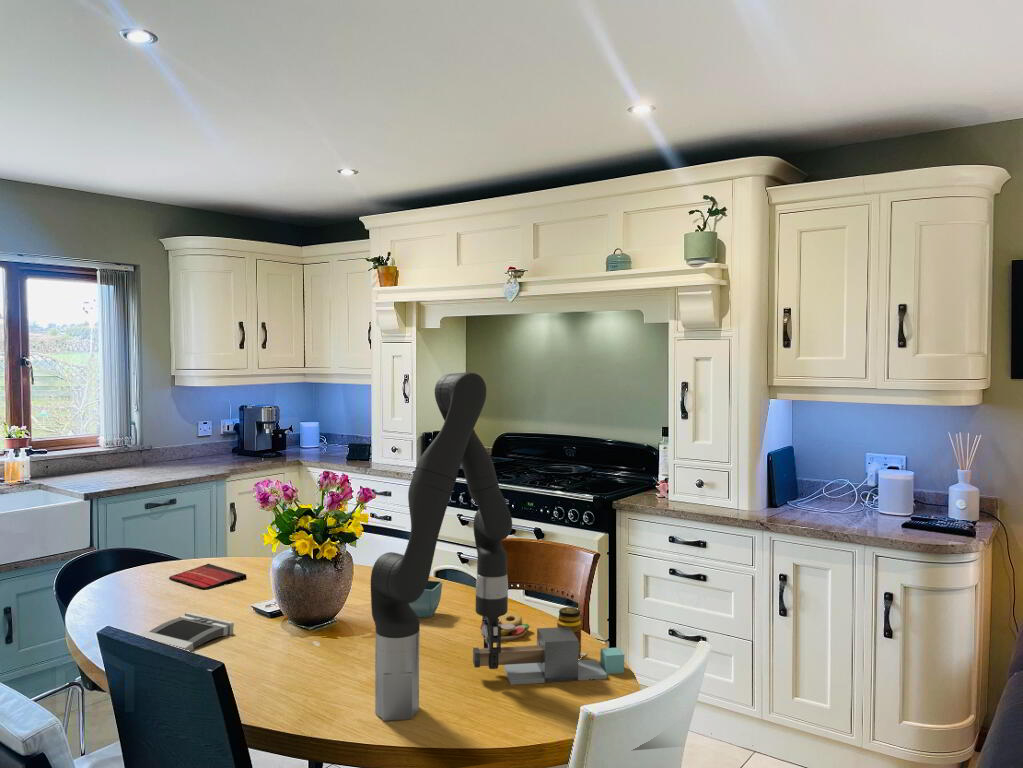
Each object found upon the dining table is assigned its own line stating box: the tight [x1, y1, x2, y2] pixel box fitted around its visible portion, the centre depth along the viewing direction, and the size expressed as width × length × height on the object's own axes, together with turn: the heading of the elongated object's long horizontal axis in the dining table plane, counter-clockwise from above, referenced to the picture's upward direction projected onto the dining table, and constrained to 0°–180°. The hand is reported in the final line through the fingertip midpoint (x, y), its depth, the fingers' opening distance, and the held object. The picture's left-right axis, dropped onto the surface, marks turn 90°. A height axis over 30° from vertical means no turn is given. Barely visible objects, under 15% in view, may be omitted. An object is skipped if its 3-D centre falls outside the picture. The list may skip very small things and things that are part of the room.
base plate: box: [503, 659, 608, 686], centre depth 182 cm, size 9×23×1 cm, turn 100°
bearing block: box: [536, 626, 579, 684], centre depth 182 cm, size 9×8×10 cm
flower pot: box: [409, 579, 443, 619], centre depth 222 cm, size 9×9×9 cm
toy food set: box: [479, 613, 530, 641], centre depth 209 cm, size 13×13×3 cm
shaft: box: [472, 644, 543, 669], centre depth 181 cm, size 3×23×3 cm, turn 100°
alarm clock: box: [140, 612, 235, 652], centre depth 202 cm, size 17×5×16 cm
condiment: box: [556, 606, 587, 659], centre depth 193 cm, size 7×8×12 cm
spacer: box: [599, 647, 625, 675], centre depth 185 cm, size 4×4×4 cm
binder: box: [169, 563, 247, 590], centre depth 255 cm, size 16×2×21 cm
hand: (490, 661), depth 179 cm, fingers open, 8 cm apart
